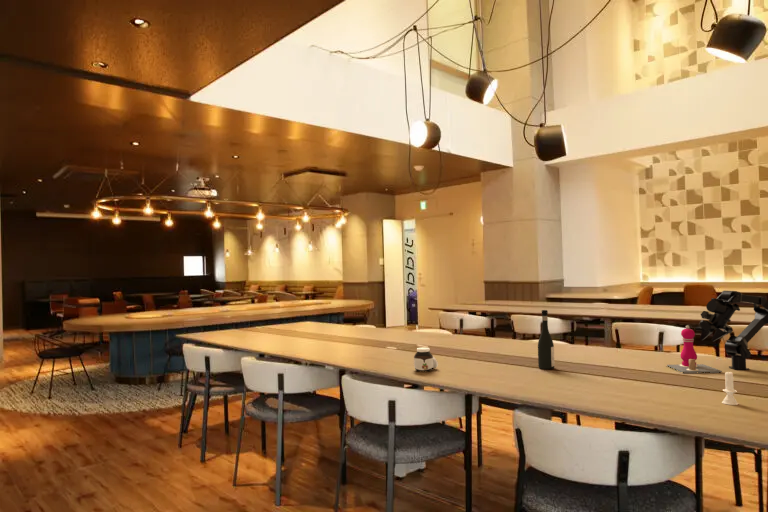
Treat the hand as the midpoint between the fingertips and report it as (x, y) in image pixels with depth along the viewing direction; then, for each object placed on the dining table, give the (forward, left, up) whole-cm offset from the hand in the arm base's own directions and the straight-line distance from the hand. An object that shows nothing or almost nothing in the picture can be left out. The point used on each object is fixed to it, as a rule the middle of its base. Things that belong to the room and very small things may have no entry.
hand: (706, 340), depth 267 cm
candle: (-69, +27, -14) cm, 75 cm away
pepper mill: (-2, +10, -12) cm, 16 cm away
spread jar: (+1, +141, -14) cm, 142 cm away
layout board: (-6, +10, -13) cm, 18 cm away
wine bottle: (+2, +79, -14) cm, 80 cm away
